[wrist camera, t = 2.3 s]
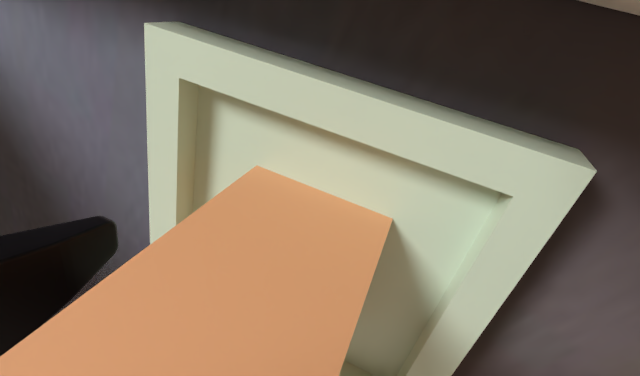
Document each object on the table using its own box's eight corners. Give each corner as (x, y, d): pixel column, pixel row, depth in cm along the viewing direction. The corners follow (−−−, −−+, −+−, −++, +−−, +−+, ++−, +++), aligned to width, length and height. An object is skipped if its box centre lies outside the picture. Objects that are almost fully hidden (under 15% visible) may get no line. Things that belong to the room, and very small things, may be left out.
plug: (393, 218, 9) (131, 977, 2) (351, 319, 11) (148, 877, 4) (256, 165, 10) (-290, 572, 3) (241, 268, 12) (-98, 660, 5)
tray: (579, 149, 7) (596, 171, 6) (411, 403, 13) (407, 437, 12) (178, 21, 9) (144, 22, 8) (173, 286, 14) (151, 306, 13)
